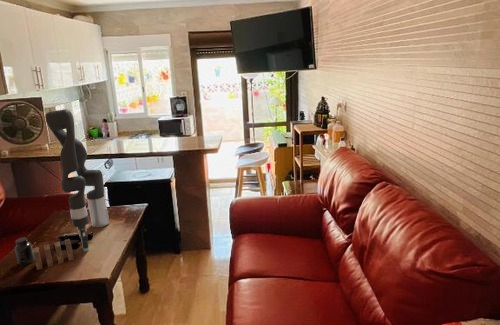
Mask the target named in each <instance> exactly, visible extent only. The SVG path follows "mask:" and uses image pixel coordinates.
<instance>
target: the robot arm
mask: <svg viewBox="0 0 500 325" xmlns="http://www.w3.org/2000/svg"><path fill="white" fill-rule="evenodd" d="M44 117H45V122H46V124H47V126H48V129H50V131H51V133H52V134H53V135H54V137H55V138H56V140H58V142H59V144H60V146H61V147H62V148H61V150H60V153H59V155H60V156H59V158H60V164H61V169H62V175H61V176H62V178H61V184H60V185H61V190H62V191H63V192H64V193H67V194H68V193H72V192H76V193H75V194H72V195H70V196H68V204H69V205H68V206H69V212H70V218H71V223H72V226H73V227H75V228H76V230H77V233H78V235H79V238H80V240H81V239H82V242H81V244H82V243H83V247H82V249H83V248H84V249H86V248H89V244H88V242H89V239H88V231H87V230H88V228H87V225H88V224H90V223H91V227H93V228H102V227H104V226H107V225H110V217H109V212H108V210H109V209H108V208H107V203H106V198H105V197H106V196H105V186H104V177H103V176H104V175H103V172H102V171H101V170H100V169H87V168H86V165H85V163H86V160H87V158H88V152H87V150H86V148H85V146H84V144H83V142H82V141H81V140H79V139H78V138H76V134H75V119H74V116H73V113H72V111H70V110H69V109H67V108H66V109H65V108H64V109H60V110H59V109H58V110H53V111H52V110H51V111H48V112H46V113H45V116H44ZM74 172H76V174H77V175H76V176H71V177H69V175H70V174H72V173H74ZM86 187H94V189H91V190H89V191H88V192H86V198H87V205H86V200H85V189H86ZM86 206H88V209H87V207H86ZM88 211H89V213H88ZM88 214H89V215H88ZM89 216H90V219H89ZM90 221H91V222H90ZM85 238H86V239H85ZM83 239H84V240H83Z"/></svg>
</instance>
